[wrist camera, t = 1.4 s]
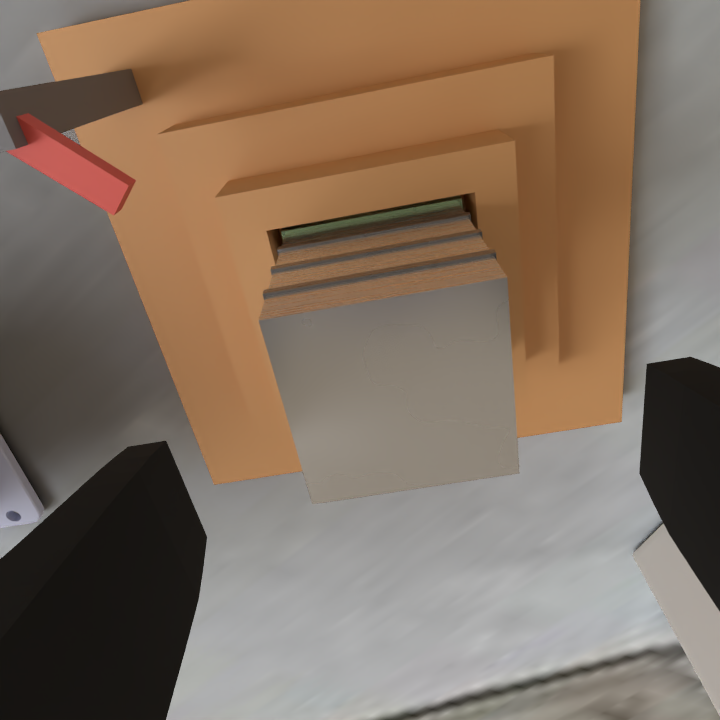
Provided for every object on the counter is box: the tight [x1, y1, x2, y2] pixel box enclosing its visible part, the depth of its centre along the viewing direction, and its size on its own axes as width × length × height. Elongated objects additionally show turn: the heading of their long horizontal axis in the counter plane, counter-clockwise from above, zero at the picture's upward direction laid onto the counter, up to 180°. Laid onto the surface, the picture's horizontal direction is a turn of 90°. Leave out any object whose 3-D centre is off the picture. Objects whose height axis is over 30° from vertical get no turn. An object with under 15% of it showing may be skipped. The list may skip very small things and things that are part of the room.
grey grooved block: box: [259, 195, 519, 504], centre depth 13 cm, size 4×4×5 cm
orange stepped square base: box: [0, 0, 640, 485], centre depth 14 cm, size 14×14×8 cm
